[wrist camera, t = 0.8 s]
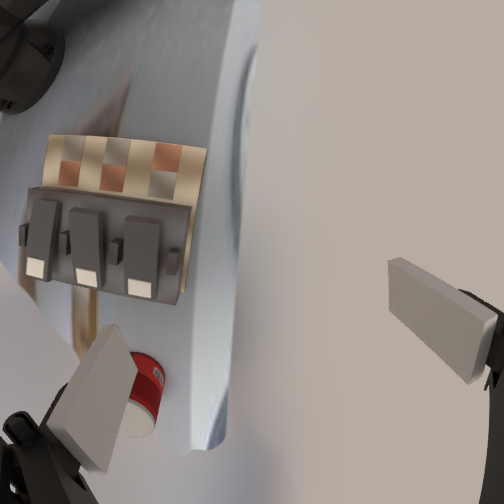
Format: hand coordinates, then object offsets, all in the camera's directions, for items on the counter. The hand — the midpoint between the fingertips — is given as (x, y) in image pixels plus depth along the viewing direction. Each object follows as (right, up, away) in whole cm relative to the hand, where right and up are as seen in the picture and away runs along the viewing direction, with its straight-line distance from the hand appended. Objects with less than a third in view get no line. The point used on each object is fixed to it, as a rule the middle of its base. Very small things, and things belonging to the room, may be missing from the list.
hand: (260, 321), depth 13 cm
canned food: (-17, -15, +28) cm, 36 cm away
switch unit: (-18, +9, +22) cm, 29 cm away
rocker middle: (-18, +3, +16) cm, 24 cm away
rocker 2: (-12, +2, +17) cm, 20 cm away
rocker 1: (-25, +5, +15) cm, 29 cm away
